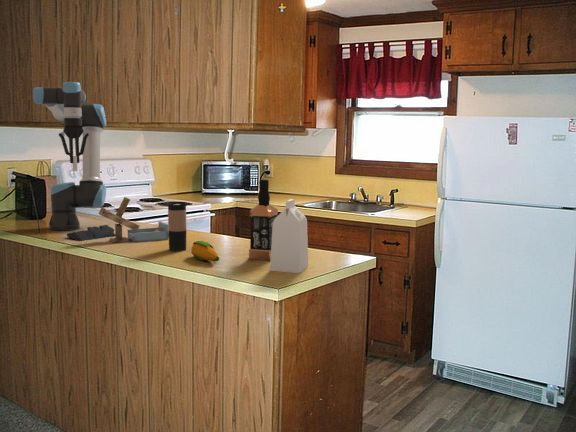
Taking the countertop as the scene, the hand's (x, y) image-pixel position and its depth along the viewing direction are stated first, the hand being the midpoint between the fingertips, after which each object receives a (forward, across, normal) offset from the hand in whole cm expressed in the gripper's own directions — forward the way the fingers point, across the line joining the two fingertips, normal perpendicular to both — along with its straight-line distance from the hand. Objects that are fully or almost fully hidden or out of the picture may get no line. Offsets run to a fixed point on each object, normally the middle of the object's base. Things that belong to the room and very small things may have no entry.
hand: (75, 170), depth 277 cm
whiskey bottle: (+33, +61, -68) cm, 97 cm away
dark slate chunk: (+33, +8, +11) cm, 36 cm away
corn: (+33, +39, -62) cm, 80 cm away
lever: (+23, +17, -6) cm, 30 cm away
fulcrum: (+32, +17, -6) cm, 37 cm away
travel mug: (+33, +35, -38) cm, 61 cm away
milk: (+33, +62, -89) cm, 113 cm away
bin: (+32, +31, -6) cm, 45 cm away
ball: (+30, +35, -6) cm, 47 cm away
